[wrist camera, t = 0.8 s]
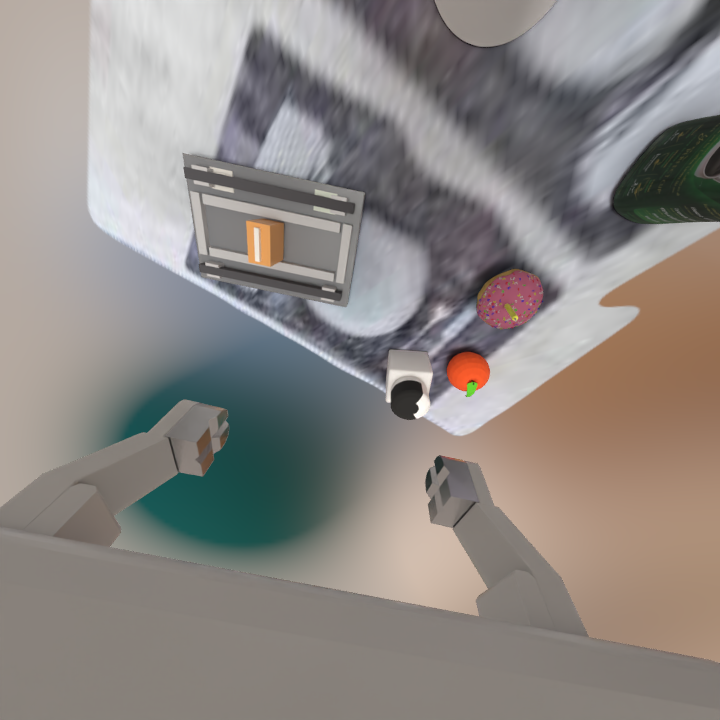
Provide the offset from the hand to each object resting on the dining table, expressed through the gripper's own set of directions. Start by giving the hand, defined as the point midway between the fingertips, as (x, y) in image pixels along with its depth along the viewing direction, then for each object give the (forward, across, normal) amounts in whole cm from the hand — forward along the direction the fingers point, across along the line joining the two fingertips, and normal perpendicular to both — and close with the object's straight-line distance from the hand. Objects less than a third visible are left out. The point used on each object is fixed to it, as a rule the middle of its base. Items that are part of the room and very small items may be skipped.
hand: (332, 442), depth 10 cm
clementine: (+35, -21, +14) cm, 43 cm away
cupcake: (+35, -20, 0) cm, 41 cm away
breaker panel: (+35, +15, 0) cm, 38 cm away
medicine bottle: (+35, -11, +17) cm, 41 cm away
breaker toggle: (+33, +15, 0) cm, 36 cm away
